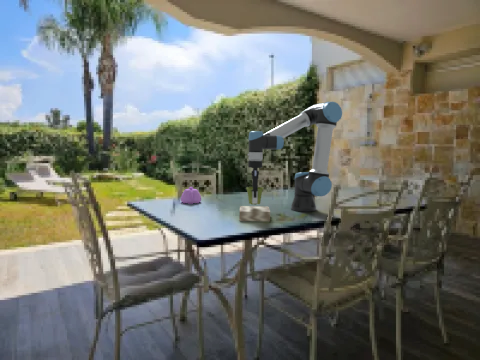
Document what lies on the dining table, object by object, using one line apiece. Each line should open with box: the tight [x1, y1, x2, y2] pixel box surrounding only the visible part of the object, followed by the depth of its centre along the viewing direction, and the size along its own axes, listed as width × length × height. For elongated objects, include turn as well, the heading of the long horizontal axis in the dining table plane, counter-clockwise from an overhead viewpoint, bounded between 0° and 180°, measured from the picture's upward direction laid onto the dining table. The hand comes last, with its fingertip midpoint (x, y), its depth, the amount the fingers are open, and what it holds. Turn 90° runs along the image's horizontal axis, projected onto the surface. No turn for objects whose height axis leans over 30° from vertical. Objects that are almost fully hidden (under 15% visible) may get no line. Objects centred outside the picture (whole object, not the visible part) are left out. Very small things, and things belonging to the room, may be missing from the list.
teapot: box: [180, 186, 202, 205], centre depth 245 cm, size 14×20×11 cm
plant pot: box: [245, 186, 264, 206], centre depth 195 cm, size 9×9×9 cm
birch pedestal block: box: [238, 205, 271, 222], centre depth 196 cm, size 16×16×5 cm
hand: (254, 202), depth 195 cm, fingers closed on plant pot, 8 cm apart
